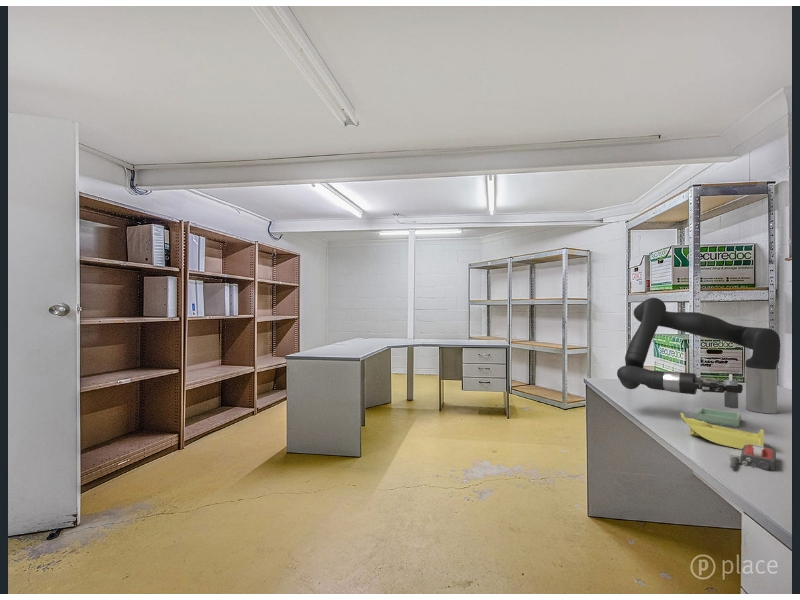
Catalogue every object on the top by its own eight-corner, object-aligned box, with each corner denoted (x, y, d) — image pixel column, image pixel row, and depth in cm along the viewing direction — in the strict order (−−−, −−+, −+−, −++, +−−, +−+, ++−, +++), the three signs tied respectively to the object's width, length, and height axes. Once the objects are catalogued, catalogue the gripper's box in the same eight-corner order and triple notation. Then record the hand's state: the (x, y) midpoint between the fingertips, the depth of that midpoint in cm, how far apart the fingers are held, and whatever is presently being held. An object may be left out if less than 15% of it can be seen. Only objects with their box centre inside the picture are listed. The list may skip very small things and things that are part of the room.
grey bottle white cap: (725, 405, 135) (724, 373, 135) (738, 406, 133) (737, 374, 133) (724, 407, 133) (723, 374, 133) (738, 409, 130) (737, 375, 130)
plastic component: (760, 435, 119) (764, 428, 112) (759, 459, 117) (762, 454, 110) (681, 418, 132) (679, 410, 125) (678, 440, 130) (677, 433, 123)
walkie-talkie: (734, 451, 113) (726, 471, 99) (734, 435, 113) (726, 453, 99) (776, 459, 107) (774, 482, 93) (776, 443, 107) (774, 463, 93)
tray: (699, 414, 151) (699, 407, 151) (740, 420, 143) (740, 413, 143) (695, 420, 142) (695, 413, 143) (738, 427, 134) (738, 420, 134)
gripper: (675, 374, 138) (740, 380, 126) (682, 369, 148) (743, 374, 136) (676, 396, 138) (741, 404, 126) (683, 389, 148) (743, 396, 136)
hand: (741, 388), depth 131 cm, fingers closed on grey bottle white cap, 3 cm apart
